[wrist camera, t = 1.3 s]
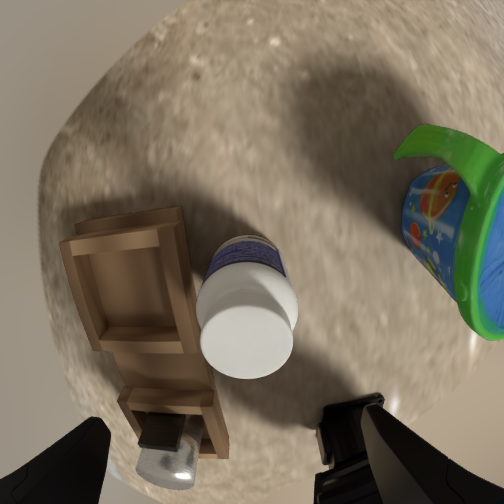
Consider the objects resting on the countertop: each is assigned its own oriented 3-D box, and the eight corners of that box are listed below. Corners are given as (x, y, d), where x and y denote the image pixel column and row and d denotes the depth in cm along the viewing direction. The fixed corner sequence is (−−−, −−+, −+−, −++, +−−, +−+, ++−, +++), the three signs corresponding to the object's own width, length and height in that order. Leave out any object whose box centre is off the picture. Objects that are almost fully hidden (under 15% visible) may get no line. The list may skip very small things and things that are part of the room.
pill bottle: (196, 258, 20) (159, 324, 11) (261, 219, 19) (268, 263, 10) (237, 315, 21) (229, 402, 13) (298, 282, 20) (327, 359, 12)
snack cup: (498, 240, 19) (573, 276, 10) (431, 317, 21) (494, 385, 12) (420, 95, 16) (515, 69, 6) (329, 182, 18) (406, 201, 8)
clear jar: (196, 399, 22) (183, 464, 15) (208, 434, 23) (200, 492, 17) (146, 397, 22) (123, 455, 15) (162, 431, 24) (147, 485, 17)
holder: (185, 205, 19) (171, 214, 15) (231, 437, 26) (229, 462, 22) (82, 221, 19) (56, 231, 15) (157, 434, 26) (150, 456, 22)
